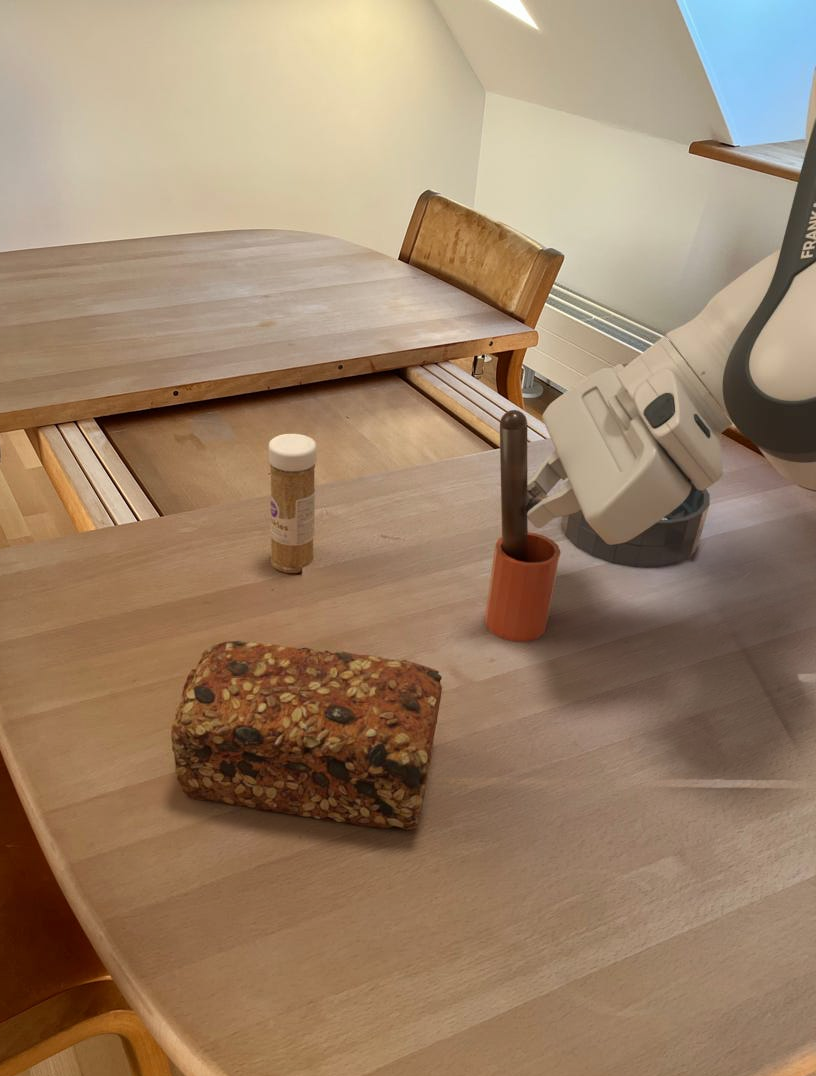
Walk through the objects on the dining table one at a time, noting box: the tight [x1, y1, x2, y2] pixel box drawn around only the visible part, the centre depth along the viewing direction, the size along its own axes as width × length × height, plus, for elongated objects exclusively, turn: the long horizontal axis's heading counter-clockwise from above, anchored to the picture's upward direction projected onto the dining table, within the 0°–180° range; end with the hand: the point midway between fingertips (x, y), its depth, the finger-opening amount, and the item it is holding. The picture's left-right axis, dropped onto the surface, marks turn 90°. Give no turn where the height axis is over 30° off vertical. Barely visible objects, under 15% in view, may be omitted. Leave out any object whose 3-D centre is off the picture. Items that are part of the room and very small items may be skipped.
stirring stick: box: [499, 409, 529, 563], centre depth 84 cm, size 2×2×21 cm
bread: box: [170, 639, 443, 830], centre depth 72 cm, size 19×11×10 cm, turn 78°
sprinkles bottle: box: [267, 433, 318, 574], centre depth 95 cm, size 5×5×13 cm
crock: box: [484, 531, 561, 643], centre depth 88 cm, size 6×6×9 cm
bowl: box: [560, 481, 711, 569], centre depth 103 cm, size 14×14×6 cm
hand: (527, 509), depth 83 cm, fingers closed on stirring stick, 2 cm apart
